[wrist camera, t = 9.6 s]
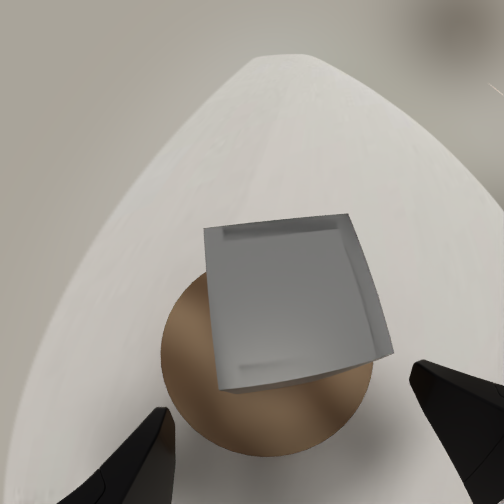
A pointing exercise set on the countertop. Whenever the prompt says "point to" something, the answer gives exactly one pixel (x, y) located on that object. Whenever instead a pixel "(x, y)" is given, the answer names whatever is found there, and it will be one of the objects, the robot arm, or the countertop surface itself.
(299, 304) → the gray rectangular block
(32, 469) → the countertop surface
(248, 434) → the stand
